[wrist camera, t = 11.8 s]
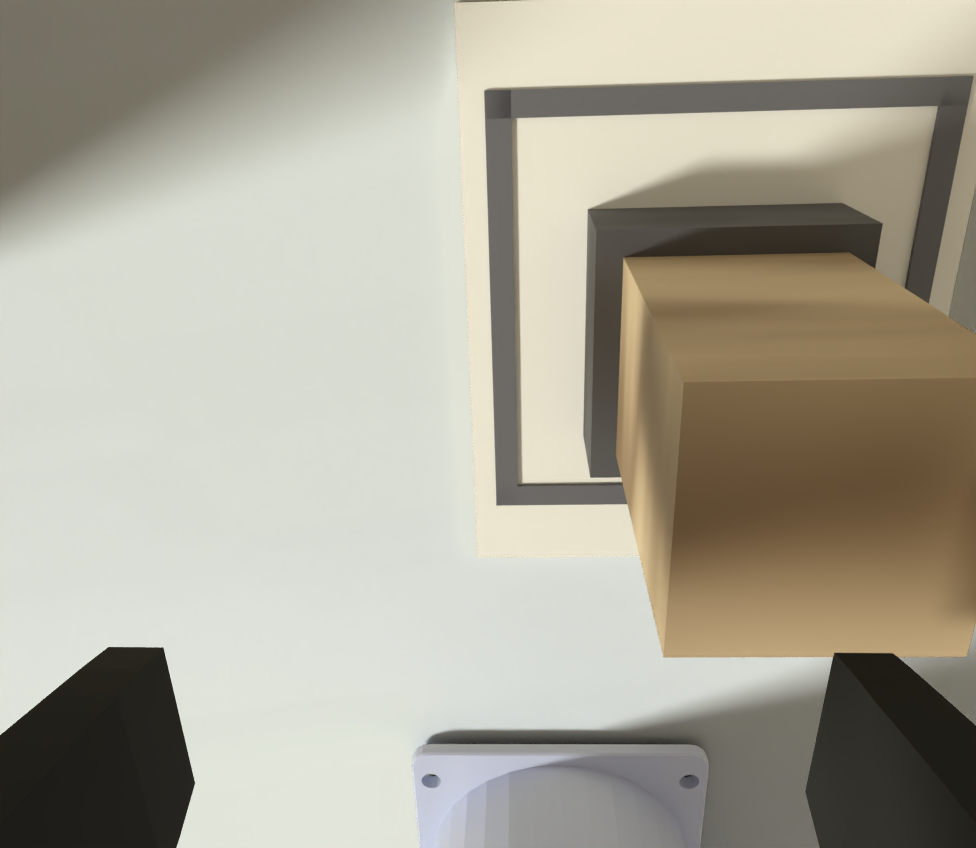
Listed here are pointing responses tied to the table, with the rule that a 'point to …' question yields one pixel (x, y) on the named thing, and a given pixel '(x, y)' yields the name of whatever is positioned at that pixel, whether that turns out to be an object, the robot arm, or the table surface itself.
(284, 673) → the table surface
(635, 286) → the stamp
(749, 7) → the marked card
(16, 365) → the table surface
